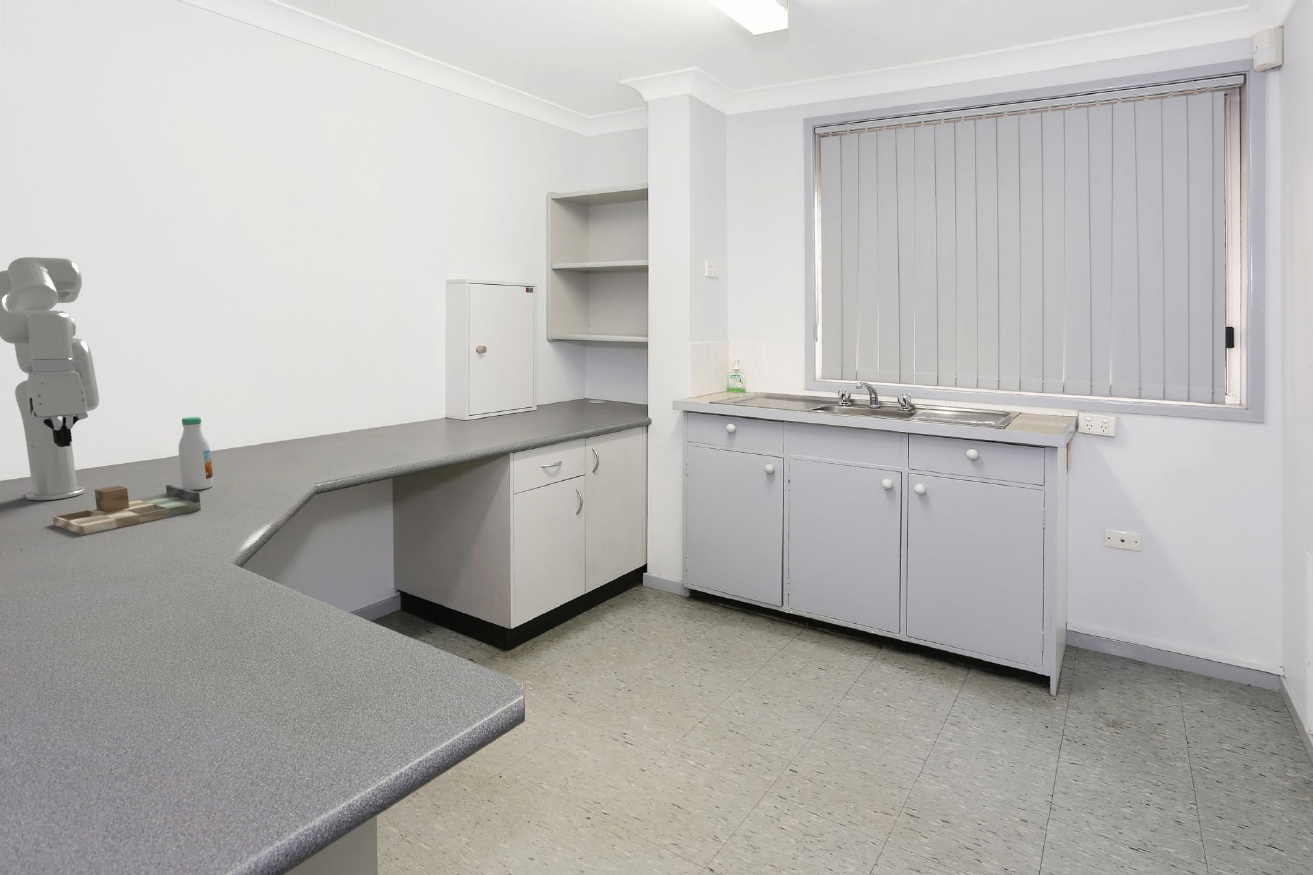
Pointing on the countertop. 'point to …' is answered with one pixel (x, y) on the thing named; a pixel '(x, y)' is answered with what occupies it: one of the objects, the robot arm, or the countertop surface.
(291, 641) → the countertop surface
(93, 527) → the trap board
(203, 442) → the milk bottle
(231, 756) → the countertop surface
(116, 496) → the walnut block
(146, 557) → the countertop surface
